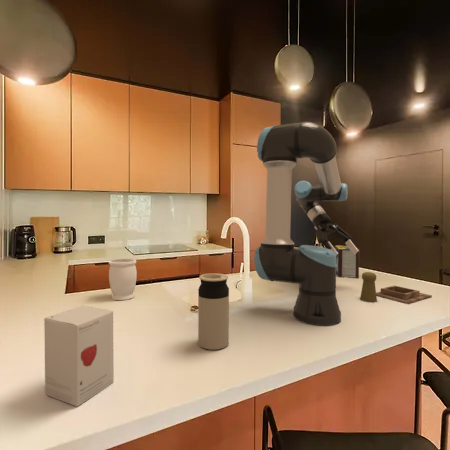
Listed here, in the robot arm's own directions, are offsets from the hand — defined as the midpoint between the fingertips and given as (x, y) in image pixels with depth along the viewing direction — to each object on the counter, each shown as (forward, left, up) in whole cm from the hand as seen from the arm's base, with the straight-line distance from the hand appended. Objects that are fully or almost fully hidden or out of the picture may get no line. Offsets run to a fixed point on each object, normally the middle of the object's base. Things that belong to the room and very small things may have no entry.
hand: (346, 254), depth 127 cm
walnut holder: (+17, -15, -17) cm, 28 cm away
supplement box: (-104, -18, -17) cm, 107 cm away
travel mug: (-72, -14, -17) cm, 76 cm away
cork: (0, -11, -17) cm, 20 cm away
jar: (-83, +41, -17) cm, 95 cm away
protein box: (+33, +24, -17) cm, 44 cm away
